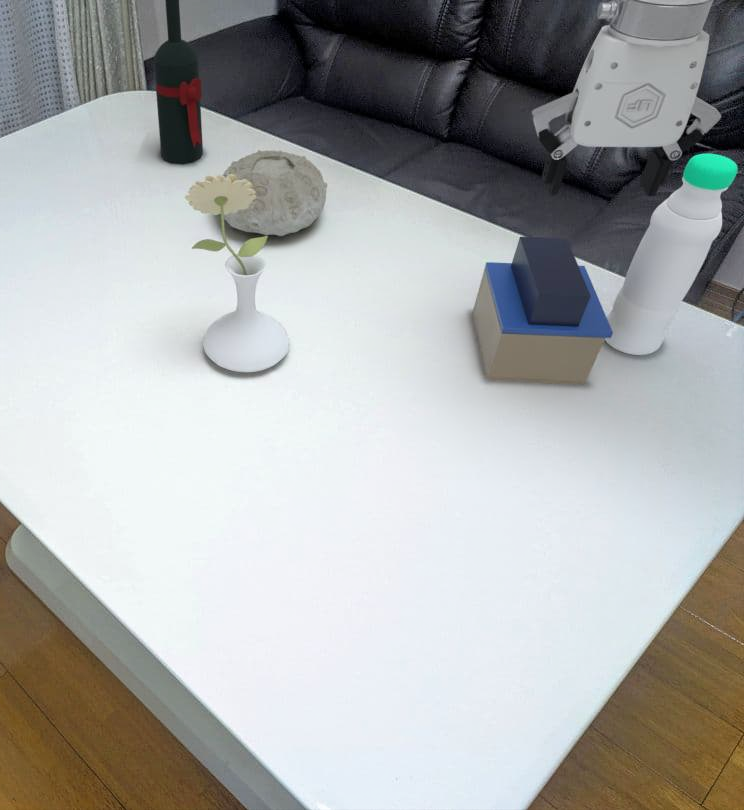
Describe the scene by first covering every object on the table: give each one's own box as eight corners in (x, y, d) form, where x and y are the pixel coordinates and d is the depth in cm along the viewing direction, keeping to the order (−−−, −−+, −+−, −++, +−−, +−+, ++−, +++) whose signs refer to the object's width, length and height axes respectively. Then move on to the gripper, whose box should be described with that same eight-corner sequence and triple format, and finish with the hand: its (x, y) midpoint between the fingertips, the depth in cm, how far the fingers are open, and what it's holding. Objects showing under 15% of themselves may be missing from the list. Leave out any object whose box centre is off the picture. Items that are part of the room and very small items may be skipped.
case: (510, 266, 94) (519, 236, 91) (556, 267, 94) (567, 237, 91) (528, 324, 86) (539, 294, 83) (578, 326, 85) (591, 296, 82)
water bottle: (648, 324, 98) (737, 146, 81) (666, 359, 93) (764, 177, 76) (593, 322, 99) (669, 145, 81) (608, 357, 94) (692, 176, 76)
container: (559, 318, 100) (577, 270, 94) (583, 386, 90) (605, 338, 85) (471, 314, 101) (484, 267, 96) (486, 382, 92) (501, 333, 86)
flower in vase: (298, 333, 100) (309, 160, 82) (275, 388, 92) (282, 210, 75) (208, 316, 103) (200, 146, 86) (179, 367, 96) (164, 193, 78)
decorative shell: (292, 262, 112) (295, 203, 105) (194, 232, 119) (191, 174, 112) (342, 209, 122) (348, 152, 115) (250, 184, 130) (250, 129, 123)
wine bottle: (180, 175, 133) (168, -8, 112) (153, 154, 139) (137, -23, 118) (217, 163, 136) (212, -18, 114) (189, 143, 142) (179, -32, 121)
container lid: (582, 270, 94) (584, 265, 94) (611, 338, 85) (613, 332, 84) (484, 267, 96) (486, 261, 95) (501, 333, 86) (503, 327, 86)
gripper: (566, 31, 65) (519, 206, 77) (781, 27, 62) (697, 208, 74) (549, 4, 70) (507, 172, 82) (746, 0, 68) (674, 173, 80)
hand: (598, 189), depth 78 cm, fingers open, 9 cm apart
